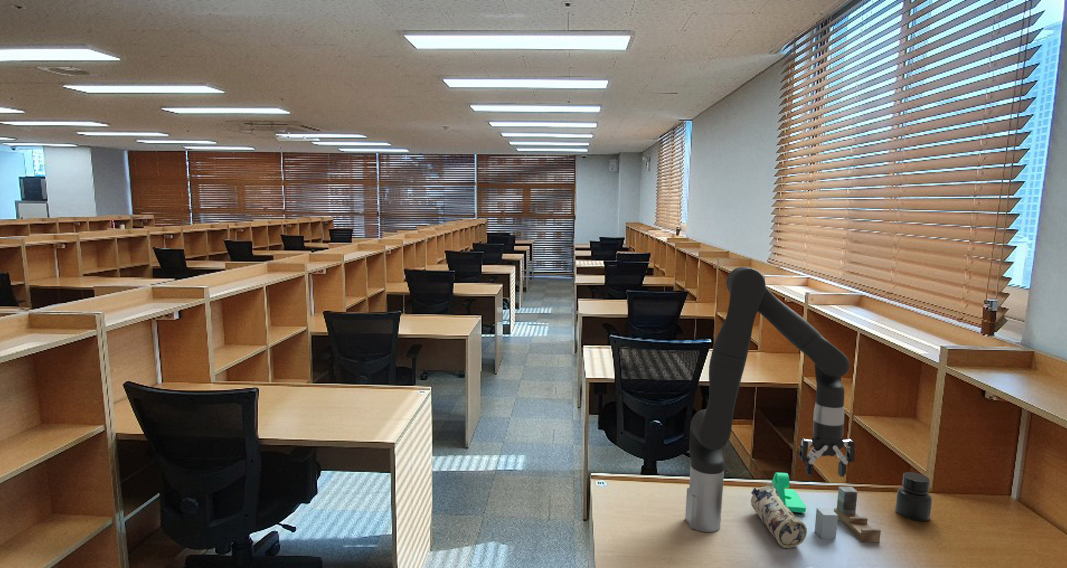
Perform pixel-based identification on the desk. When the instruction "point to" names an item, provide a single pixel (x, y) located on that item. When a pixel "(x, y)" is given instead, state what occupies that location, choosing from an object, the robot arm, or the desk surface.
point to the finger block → (826, 523)
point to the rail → (854, 516)
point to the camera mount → (787, 493)
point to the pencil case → (778, 517)
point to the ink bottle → (914, 497)
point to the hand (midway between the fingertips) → (825, 475)
